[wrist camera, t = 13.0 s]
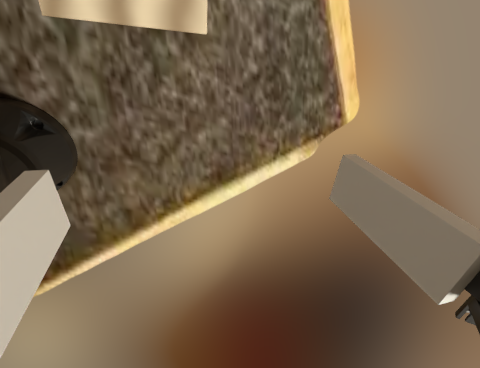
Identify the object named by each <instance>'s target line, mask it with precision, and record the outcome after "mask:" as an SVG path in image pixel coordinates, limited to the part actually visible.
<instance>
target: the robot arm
mask: <svg viewBox="0 0 480 368" xmlns="http://www.w3.org/2000/svg"><path fill="white" fill-rule="evenodd" d="M76 166H77V150H76V147H75V144H74V142H73V140H72V138H71V136H70V135H69V133H68V132H67V131H66V130H65V128H64V127H63V126H62V125H61V124H60V123H59V122H58V121H56V120H55V119H54V118H53V117H51V116H50V115H48V114H47V113H45V112H44V111H42V110H40V109H38V108H36V107H34V106H32V105H29V104H26V103H23V102H20V101H16V100H12V99H5V98H0V358H1V356H2V354H3V352H4V351H5V349H6V347H7V345H8V343H9V341H10V339H11V337H12V335H13V333H14V332H15V330H16V327H17V326H18V324H19V322H20V320H21V318H22V317H23V315H24V313H25V311H26V309H27V307H28V305H29V303H30V301H31V299H32V298H33V296H34V294H35V292H36V290H37V288H38V286H39V284H40V282H41V281H42V279H43V277H44V275H45V273H46V271H47V269H48V267H49V265H50V264H51V262H52V260H53V258H54V256H55V254H56V252H57V250H58V248H59V246H60V245H61V243H62V241H63V239H64V237H65V235H66V233H67V231H68V229H69V228H70V226H71V225H70V223H69V220H68V218H67V215H66V213H65V210H64V208H63V205H62V202H61V200H60V197H59V195H58V192H57V190H58V189H60V188H61V187H62V186H64V185H65V184H66V183H67V181H68V180H69V179H70V177H71V176H72V175H73V173H74V171H75V169H76ZM330 200H331V201H332V202H333V203H334V204H335V205H336V206H337V207H338V208H340V209H341V211H342V212H343V213H345V214H346V215H347V216H348V217H349V218H350V219H351V220H352V221H353V222H354V223H355V224H356V225H357V226H358V227H359V228H360V229H361V230H362V231H363V232H364V233H365V234H366V235H367V236H368V237H369V238H370V239H371V240H372V241H373V242H374V243H375V244H376V245H377V246H378V247H380V249H381V250H383V251H384V252H385V253H386V254H387V255H388V256H389V257H390V258H391V259H392V260H393V261H394V262H395V263H396V264H397V265H398V266H399V267H400V268H401V269H402V270H403V271H404V272H405V273H406V274H407V275H408V276H409V277H410V278H411V279H412V280H413V281H414V282H415V283H416V284H417V285H418V286H419V287H420V288H421V289H423V291H425V292H426V293H427V294H428V295H429V296H430V297H431V298H432V299H433V300H434V301H435V302H436V303H437V304H438V305H440V304H443V303H447V302H451V301H454V300H455V299H456V298H457V297H458V296H459V295H460V294H461V292H462V291H463V290H464V289H465V290H466V291H468V292H469V293H470V294H471V296H470V297H469V298H468V299H467V300H466V301H465V303H464V304H463V305H462V306H461V307H460V308H459V309H458V310H457V311H456V313H455V315H456V318H458V319H460V318H461V317H462V316H463V315H464V314H465V313H466V312H469V313H470V314H469V315H468V316H467V317H466V319H465V321H466V322H468V323H471V324H474V325H476V327H477V329H478V331H479V333H480V229H478V228H477V227H475V226H473V225H472V224H470V223H468V222H467V221H465V220H463V219H462V218H460V217H458V216H457V215H455V214H453V213H452V212H450V211H448V210H447V209H445V208H443V207H442V206H440V205H438V204H437V203H435V202H433V201H431V200H430V199H428V198H427V197H425V196H423V195H422V194H420V193H419V192H417V191H415V190H414V189H412V188H410V187H409V186H407V185H405V184H403V183H402V182H400V181H398V180H397V179H395V178H394V177H392V176H390V175H389V174H387V173H385V172H384V171H382V170H380V169H379V168H377V167H375V166H374V165H372V164H370V163H369V162H367V161H365V160H364V159H362V158H361V157H359V156H357V155H355V154H354V155H343V157H342V160H341V163H340V166H339V169H338V173H337V176H336V179H335V182H334V185H333V189H332V192H331V195H330Z"/></svg>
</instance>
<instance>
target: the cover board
mask: <svg viewBox="0 0 480 368" xmlns="http://www.w3.org/2000/svg"><path fill="white" fill-rule="evenodd" d="M38 1H39V4H40V8H41V12H42V15H44V16H50V17H59V18H68V19H76V20H85V21H94V22H102V23H111V24H120V25H129V26H137V27H146V28H155V29H163V30H172V31H181V32H189V33H198V34H207V0H38Z"/></svg>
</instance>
